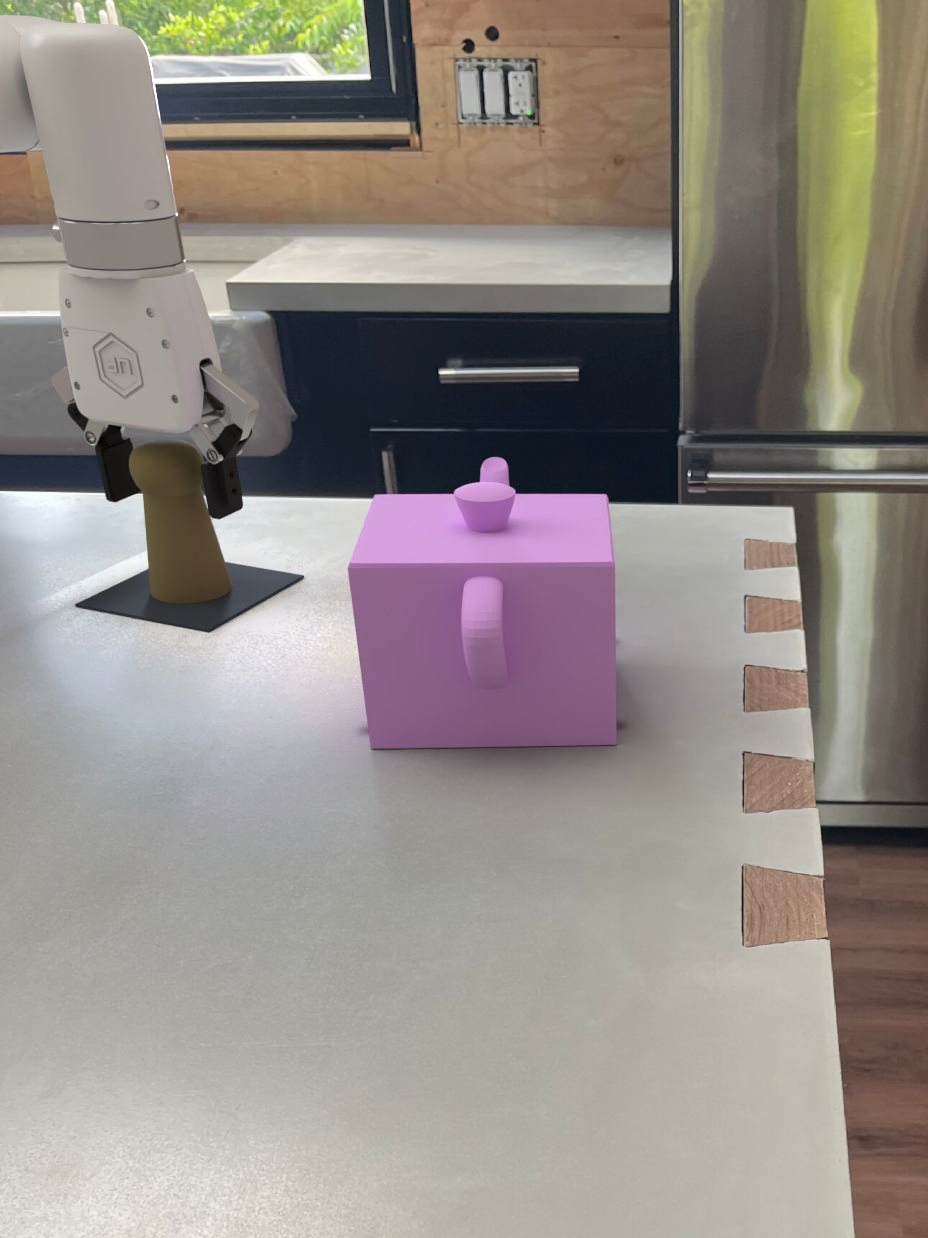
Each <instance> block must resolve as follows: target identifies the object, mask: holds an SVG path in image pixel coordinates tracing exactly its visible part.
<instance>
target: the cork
mask: <svg viewBox="0 0 928 1238" xmlns="http://www.w3.org/2000/svg"><path fill="white" fill-rule="evenodd" d="M202 455H203V454H202V452H201V451H200V450H199V448H198V447H197V446H196V445H194V444H193V443H191V442H189V441H186V440H181V439H173V438H159V439H155V440H154V439H153V440H149V441H145V442H142V443H140V444H137V445H136V446H135V447H133V450H132V452H131V455H130V457H129V469H130V473H131V476H132V478H133V480H134V482H135V484H136V485H137V486H138V487H139V488H140V489H141V492H142V501H143V515H144V527H145V539H146V552H147V554H146V555H147V566H148V569H149V581H150V593H151V595H152V597H154V598H155V599H157V600H160V601H164V602H167V603H179V604H181V603H197V602H204V601H208V600H212V599H216V598H218V597H221V596H223V595H225V594H227V593H228V592H229V591H230V590H231V589H232V586H233V585H232V582H231V579H230V575H229V572H228V569H227V566H226V563H225V562H226V560H225V557H224V554H223V550H222V548H221V545H220V542H219V538H218V536H217V533H216V530H215V527H214V526H215V525H214V523H213V520H212V517H211V516H210V515H209V512H208V506H207V501H206V498H205V496H204V493H203V489H202V485H203V479H202V474H201V468H200V467H201V463H204V462H205V460H204V457H203V456H202Z"/></svg>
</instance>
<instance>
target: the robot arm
mask: <svg viewBox="0 0 928 1238" xmlns="http://www.w3.org/2000/svg"><path fill="white" fill-rule="evenodd" d="M157 95H158V94H157V90H156V84H155V78H154V72H153V67H152V63H151V58H150V54H149V51H148V48H147V46H146V44H145V42H144V40H143V39H142V37H141V36H140V35H139V34H138V33H137V32H135V31H134V30H133V29H131V28H128V27H126V26H124V25H118V24H112V23H97V22H96V23H95V22H61V21H57V20H54V19H52V18H51V19H50V18H47V17H42V16H41V17H40V16H34V15H22V14H21V15H18V14H0V153H2V154H3V153H14V152H15V153H16V152H19V153H24V152H26V153H27V152H39V151H41V153H42V157H43V162H44V167H45V171H46V176H47V181H48V187H49V190H50V194H51V198H52V201H53V208H54V212H55V216H56V221H54V223H53V224H52V234H53V237H54V239H55V241H56V242H57V243H60V244H62V248H63V253H64V256H65V257H64V258H65V261H66V265H64V266H60V267H59V268H58V302H59V303H58V304H59V315H60V316H59V317H60V325H61V332H62V333H61V334H62V340H63V346H64V352H65V359H66V364H65V365H64V366H63V367H62V368H61V369H59V370H58V371H57V372H56V373H54V374H53V375H52V376H51V377H50V384H51V386H52V388H53V389H54V390H55V392H56V394H57V395H58V396H59V398H60V399H61V401H62V402H63V404H64V406H66V407H67V408H66V409H67V414H68V416H69V418H71V419H72V421H73V422H75V424H76V425H77V426H78V427H79V428H80V429H81V431H82V432H83V438H84V440H85V442H86V444H88V445H89V446H91V447H94V450H95V456H96V459H97V460H96V461H97V465H98V470H99V473H100V474H99V475H100V477H101V482H102V486H103V491H104V496H105V499H106V500H107V501H108V502H110V503H111V502H112V503H118V502H120V501H122V500H125V499H128V498H130V497H132V496H135V495H138V494H139V493H140V492H142V490H141V489H140V488H139V487H138V486H137V485H136V484H135V482H134V480H133V478H132V476H131V473H130V469H129V457H130V455H131V452H132V450H133V449H134V444H133V442H132V440H131V437H127V436H123V435H124V433H125V430H126V428H131V429H137V430H144V431H145V430H146V431H151V432H159V433H167V434H184V433H187V435H188V436H189V437H190V439H191V440H192V441H193V443H194V444H195V446H196V448H197V449H198V450H199V452H200V453H201V455H203V457H204V458H205V459H206V461H204V463H201V467H200V468H201V474H202V479H203V483H202V485H203V489H204V494H205V496H204V497H205V502H206V505H207V508H208V512H209V515H210V517H211V519H214V520H221V519H224V518H226V517H228V516H230V515H233V514H234V513H237V512H239V511H241V510H242V509H243V507H244V501H243V491H242V486H241V485H242V484H241V480H240V474H239V467H238V462H237V456H239V455H241V454H242V453H243V451H244V448H243V447H244V446H245V445H246V443H247V442H248V441H249V439H250V438H251V437H252V435H253V427H254V426H255V422H256V419H257V417H258V414H259V411H260V408H261V407H260V402H259V401H258V400H257V398H256V397H255V396H253V395H252V394H251V393H249V392H248V391H247V390H245V388H243V387H242V386H240V385H239V384H238V383H237V382H236V381H234V380H233V379H232V378H230V377H229V375H226V373H224V372H223V370H222V369H223V368H222V363H221V359H220V354H219V349H218V345H217V342H216V337H215V333H214V330H213V325H212V322H211V319H210V315H209V312H208V308H207V304H206V303H205V299H204V296H203V293H202V290H201V288H200V285H199V281H198V279H197V277H196V275H195V272H194V270H193V269H191V268H188V267H187V261H186V256H185V248H184V244H183V239H182V233H181V227H180V222H179V216H178V209H177V203H176V198H175V193H174V187H173V181H172V176H171V170H170V164H169V158H168V153H167V148H166V142H165V136H164V130H163V125H162V119H161V118H162V117H161V114H160V113H161V112H160V108H159V101H158V96H157ZM227 409H228V411H229V418H228V420H229V421H228V423H227V421H226V419H225V418H224V417H225V416H226V414H227ZM207 428H208V429H209V430H210V432H211V433H212V434H213V436H214V437H215V438H216V439H214V437H213V436H212V434H211V433H210V432H209V431H208V429H207Z"/></svg>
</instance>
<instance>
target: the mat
mask: <svg viewBox="0 0 928 1238" xmlns="http://www.w3.org/2000/svg"><path fill="white" fill-rule="evenodd" d="M225 563H226V566H227V569H228V572H229V575H230V579H231V582H232V585H233V586H232V589H231V590H230V591H229V592H228V593H227V594H225V595H223V596H221V597H218V598H216V599H212V600H208V601H204V602H197V603H181V604H179V603H167V602H164V601H160V600H157V599H155V598H154V597H152V595H151V593H150V581H149V568H146V569H145V570H143V571H140V572H139V573H136V574H134V575H132V576H130V577H128V578H126V579H124V580H122V581H120V582H118V583H116V584H114V585H112V586H109V587H107V588H106V589H103V590H101V591H99V592H97V593H95V594H94V595H91V596H88V597H87V598H85V599H83V600H80V601H78V602H77V603H74V606H75V608H81V609H86V610H91V611H95V612H102V613H108V614H113V615H118V616H123V617H129V618H134V619H139V620H144V621H149V622H154V623H159V624H165V625H169V626H170V625H171V626H175V627H180V628H185V629H186V628H187V629H191V630H196V631H202V632H206V633H210V632H211V631H213V630H216V629H217V628H219V627H220V626H222V625H224V624H226V623H227V622H229V621H231V620H233V619H234V618H237V617H238V616H239V615H242V614H243V613H245V612H246V611H248V610H251V609H252V608H254V607H256V606H257V605H259V604H261V603H263V602H264V601H266V600H268V599H269V598H272V597H273V596H275V595H276V594H278V593H280V592H282V591H283V590H285V589H287V588H289V587H290V586H292V585H294V584H296V583H298V582H299V581H301V580H303V579H305V575H304V574H299V573H293V572H287V571H280V570H275V569H269V568H264V567H257V566H251V565H245V564H240V563H234V562H228V561H225Z"/></svg>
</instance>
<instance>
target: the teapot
mask: <svg viewBox="0 0 928 1238" xmlns="http://www.w3.org/2000/svg"><path fill="white" fill-rule="evenodd" d="M509 475H510V473H509V465H508V463H507V461H506V460H505V459H504V458H503V457H499V456H491V457H489V458H486V459H485V460H484V461H483V462H482V464H481V467H480V475H479V481H477V482H472V483H471V482H470V483H468V484H464V485H461V486H460V487H458V488H456V489H454V491H453V493H418V494H417V493H404V494H403V493H398V494H397V493H392V494H391V493H390V494H389V493H387V494H385V493H384V494H379V493H378V494H373V495H374V496H373V498H372V501H371V503H370V506H369V509H368V511H367V514H366V517H365V519H364V522H363V525H362V528H361V530H360V533H359V536H358V539H357V541H356V544H355V546H354V548H353V552H352V555H351V557H350V560H349V562H348V564H347V574H348V575H347V576H348V583H349V591H350V598H351V605H352V612H353V620H354V629H355V635H356V636H355V637H356V644H357V645H356V646H357V652H358V660H359V668H360V676H361V684H362V691H363V700H364V707H365V714H366V722H367V730H368V731H367V732H368V737H369V738H368V739H369V746H370V750H382V749H383V750H384V749H385V750H387V749H388V750H389V749H447V748H448V749H451V748H452V749H454V748H455V749H456V748H510V747H516V748H517V747H520V748H521V747H564V746H565V747H566V746H567V747H569V746H571V747H572V746H573V747H575V746H577V747H579V746H617V745H618V741H617V735H618V734H617V732H618V731H617V638H616V637H617V633H616V631H617V630H616V629H617V625H616V620H617V618H616V615H617V613H616V561H615V551H614V542H613V532H612V523H611V513H610V512H611V511H610V503H609V496H608V495H607V494H606V493H517V492H516V489H515V488H513V486H510V477H509Z"/></svg>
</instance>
